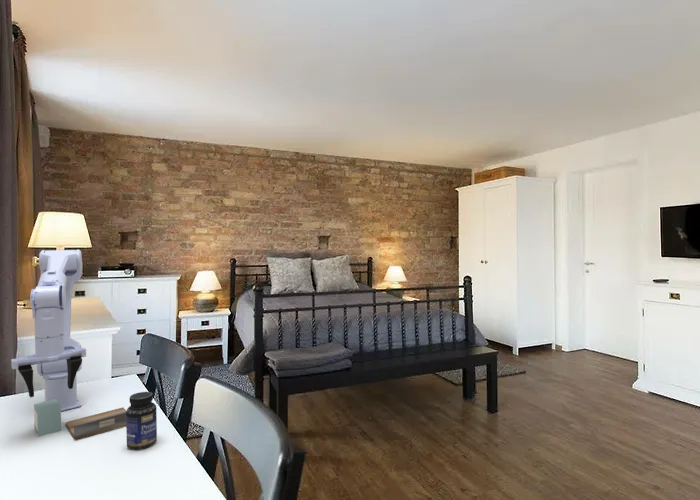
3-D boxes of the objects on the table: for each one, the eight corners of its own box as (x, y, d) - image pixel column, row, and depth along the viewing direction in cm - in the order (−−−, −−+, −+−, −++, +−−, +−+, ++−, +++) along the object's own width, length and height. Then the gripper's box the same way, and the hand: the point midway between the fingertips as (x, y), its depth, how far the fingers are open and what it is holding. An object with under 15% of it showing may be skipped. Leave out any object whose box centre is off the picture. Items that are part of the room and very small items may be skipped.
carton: (56, 422, 106) (56, 399, 106) (61, 430, 102) (60, 406, 102) (34, 428, 103) (33, 404, 103) (37, 436, 99) (37, 411, 98)
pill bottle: (144, 452, 91) (143, 401, 91) (120, 449, 92) (119, 399, 92) (162, 438, 97) (161, 391, 97) (139, 436, 98) (138, 389, 98)
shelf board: (65, 425, 104) (65, 412, 104) (123, 410, 113) (122, 398, 113) (75, 440, 96) (74, 426, 96) (136, 423, 105) (136, 410, 105)
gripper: (13, 344, 93) (15, 404, 94) (88, 333, 103) (90, 388, 104) (9, 338, 98) (11, 396, 99) (81, 329, 108) (83, 381, 109)
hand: (51, 391), depth 101 cm, fingers open, 7 cm apart
